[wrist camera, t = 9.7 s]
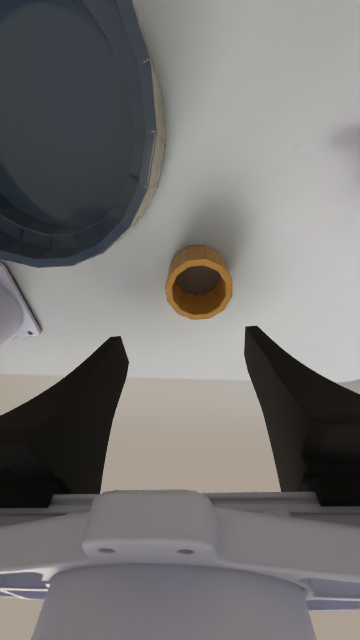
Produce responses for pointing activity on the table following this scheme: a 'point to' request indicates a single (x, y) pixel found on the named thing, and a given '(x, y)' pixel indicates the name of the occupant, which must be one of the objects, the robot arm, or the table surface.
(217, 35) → the table surface
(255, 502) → the robot arm
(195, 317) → the ring
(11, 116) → the bowl
